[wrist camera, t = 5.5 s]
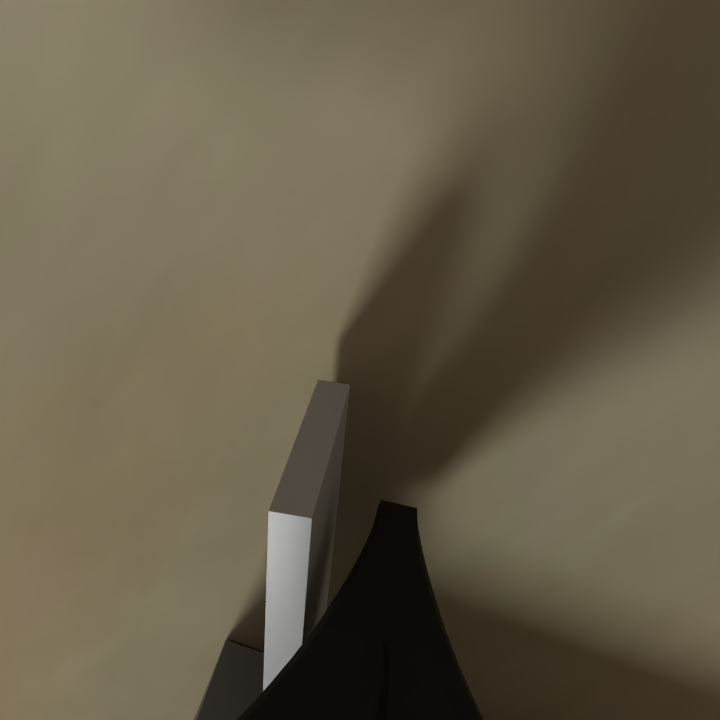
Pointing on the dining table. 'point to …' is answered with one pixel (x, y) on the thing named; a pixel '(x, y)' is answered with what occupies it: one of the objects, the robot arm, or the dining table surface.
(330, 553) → the side door
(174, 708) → the dining table surface
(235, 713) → the camera body
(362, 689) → the robot arm
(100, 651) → the dining table surface
